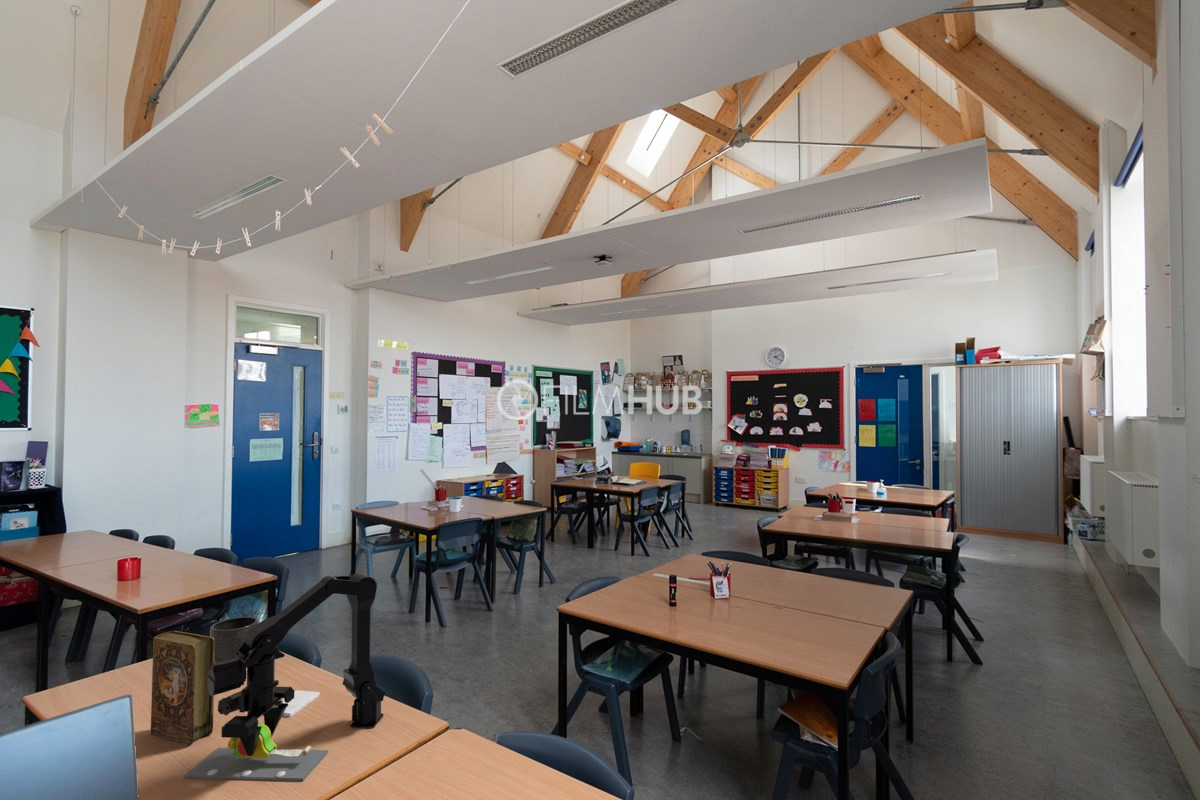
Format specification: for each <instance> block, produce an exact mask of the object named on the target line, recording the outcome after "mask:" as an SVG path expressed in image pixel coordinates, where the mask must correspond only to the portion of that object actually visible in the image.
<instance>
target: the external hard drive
mask: <svg viewBox="0 0 1200 800" xmlns="http://www.w3.org/2000/svg"><path fill="white" fill-rule="evenodd" d="M319 695H320V692H319V691H313V690H312V691H310V690H294V699H292V700H291V701H290V702H289V703H288V706H287V707H286V709H285V711H284V713H283V715H282V717H286V718H291V717H293V716H294V715H296V714H297V713H298V712H299V711H301V710H302V709H303V708H305V707H307V705H309V704H310V703H311V702H313V701H315V700H316V699H317V698H318V697H319ZM282 701H283V703H286V702H285V701H284V698H282ZM292 715H293V716H292Z"/></svg>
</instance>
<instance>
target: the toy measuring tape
mask: <svg viewBox="0 0 1200 800" xmlns="http://www.w3.org/2000/svg"><path fill="white" fill-rule="evenodd" d="M258 726H261V727H262V728H261V732H260V735H259V738H258V741H257V745H256V748H255V751H254V754H253V755H252V756H248V755H247V753H246V751H245V748H244V746H243V743H242V741H241V740H240V738H229V740H228V742H227V748H230V749H235V748H236V749H235V751H234V753H233V756H235V757H245V758H268V757H269V756H270V755H273V754H276V755H282V756H287V757H300V756H302V755H303V756H306V755H307V754H308V753H309V751H310V750H312V746H311V745H307V746H306V747H305V748H303V749H299V750H277V749H278V745H277V744H276V743H275V742H274V740H273V736H272V737H271V731H270V729H269V728H268V727H267V726H266V725H265V724H264V723H261V722H260V723H259V722H258Z"/></svg>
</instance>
